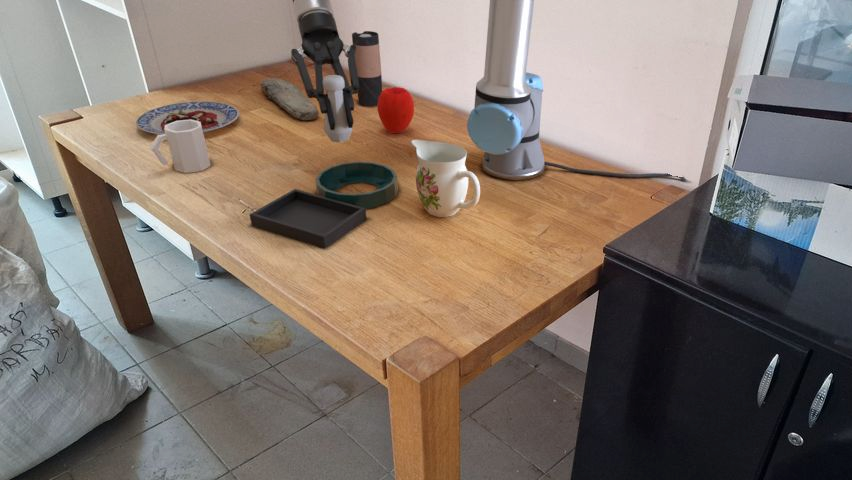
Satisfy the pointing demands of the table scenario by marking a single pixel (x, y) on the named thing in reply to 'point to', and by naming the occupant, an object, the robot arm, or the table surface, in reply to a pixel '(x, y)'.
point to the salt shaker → (336, 109)
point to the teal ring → (358, 173)
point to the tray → (308, 217)
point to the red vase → (395, 109)
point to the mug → (184, 146)
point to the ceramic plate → (188, 116)
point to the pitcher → (443, 178)
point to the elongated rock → (290, 98)
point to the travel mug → (368, 67)
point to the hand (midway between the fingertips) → (342, 125)
